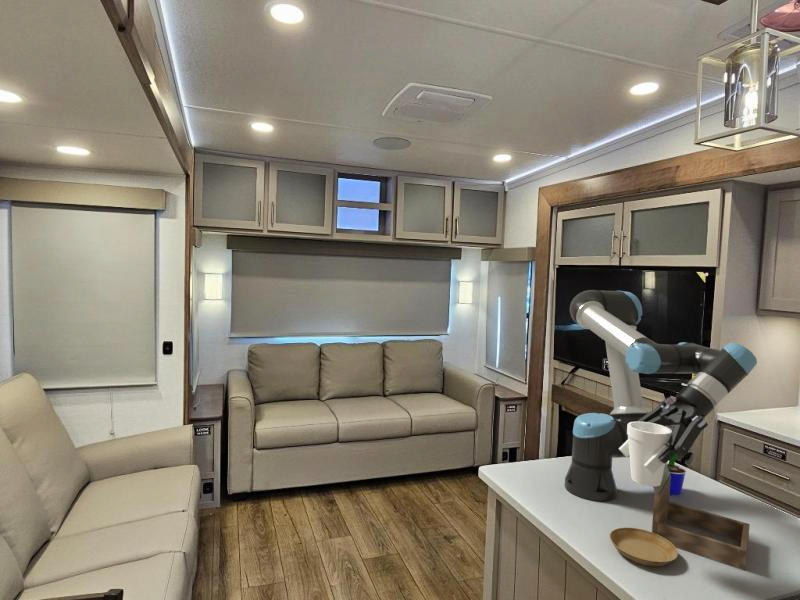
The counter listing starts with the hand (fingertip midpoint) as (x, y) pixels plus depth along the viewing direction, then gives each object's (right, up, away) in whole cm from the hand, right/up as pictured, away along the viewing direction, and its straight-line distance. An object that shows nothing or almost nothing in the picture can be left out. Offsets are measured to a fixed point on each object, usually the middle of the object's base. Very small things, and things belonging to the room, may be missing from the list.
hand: (635, 460), depth 114 cm
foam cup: (+3, -5, +1) cm, 6 cm away
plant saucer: (+2, -23, +1) cm, 23 cm away
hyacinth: (+30, -22, +37) cm, 52 cm away
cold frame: (+19, -23, +10) cm, 31 cm away
